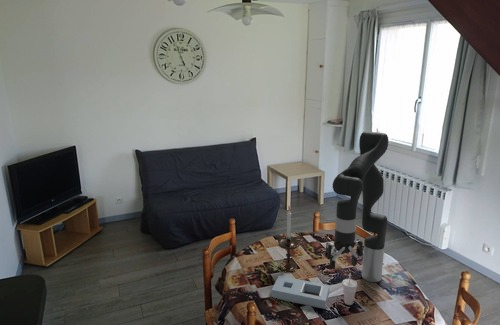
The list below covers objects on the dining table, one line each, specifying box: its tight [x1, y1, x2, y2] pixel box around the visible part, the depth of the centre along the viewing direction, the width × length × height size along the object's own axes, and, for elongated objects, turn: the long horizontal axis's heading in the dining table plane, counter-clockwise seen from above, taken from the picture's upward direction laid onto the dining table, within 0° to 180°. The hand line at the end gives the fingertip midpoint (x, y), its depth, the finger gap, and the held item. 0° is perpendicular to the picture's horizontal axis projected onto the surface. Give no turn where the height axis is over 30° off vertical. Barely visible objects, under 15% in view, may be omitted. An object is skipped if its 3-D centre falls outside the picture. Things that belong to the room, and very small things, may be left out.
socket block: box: [271, 275, 331, 310], centre depth 156 cm, size 12×24×4 cm, turn 70°
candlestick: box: [277, 205, 300, 273], centre depth 175 cm, size 11×11×35 cm
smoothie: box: [341, 272, 358, 306], centre depth 149 cm, size 6×6×14 cm
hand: (343, 266), depth 133 cm, fingers open, 8 cm apart
